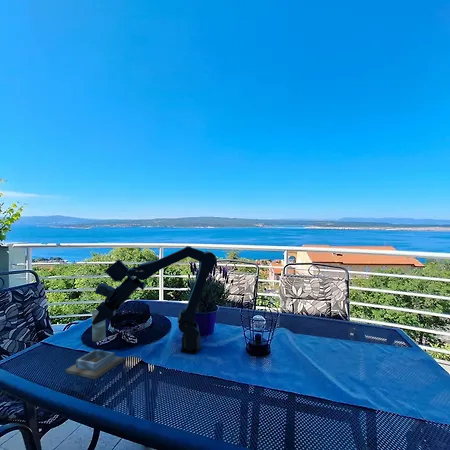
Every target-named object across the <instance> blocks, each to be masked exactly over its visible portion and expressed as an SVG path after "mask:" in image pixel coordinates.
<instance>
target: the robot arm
mask: <svg viewBox="0 0 450 450" xmlns="http://www.w3.org/2000/svg"><path fill="white" fill-rule="evenodd" d="M187 258H191V259H193V260H195V261H197V262H199V266H198V273H197V275H196V279H195V280H194V281H195V282H194V284H193V288H192V290H191V292H190V294H189V295H190V296H189V298H188V300H187V301H188V302H187V305H186V306H185V307H184V308H183V307H181V308H180V311H179V314H178V316H177V323H178V325H177V326H178V329H179V331H180V333H182V334H181V335H182V337H181V341H180V342H181V343H180V344H181V349H180V352H181V353H185V354H187V353H188V354H192V355H196V354H198V352H199V351H200V350H201V349H202V348H203V346H202V345H201V333H200V328H199V324H198V323H197V322H196V320H195V319H196V313H197V308H198V305H199V302H200V300H201V298H202V297H201V296H202V294H203V291H204V288H205V285H206V283H207V279H208V277H209V275H210V273H211V272H212V271H213V270H214V267H215V266H216V263H217V257H216V255H215V254H214V253H213V252H212V251H210V250H209V251H206V250H205V251H202V250H199V249H197V248H194V247H192V246H190V245H187V246H185V247H183V248H181V249H179V250H177V251H175V252H172V253H170V254H168V255H166V256H164V257H161V258H158V259H156V260H151V261H150V260H149V261H146V262H143V263H141V264H138V266H134V267H130V268H129V267H128V266H127V265H125V263H123V261H122V260H121V259H117V260H116V261H115V262H114V263H112V265H111V264H110V265H109V267H107V268H106V269H105V271H104V273H105V274H106V275H107V276H109V277H110V279H112V280H113V281H114V283H117V282H120V284H119V286H116V287H113V286H111V285H109V284H106V283H103V282H100V283H99V284H98V285H97V287H95V292H94V294H96V295H100V296H102V297H105V299H104V300H103V301H101V302H100V303H99V304H98V305H97V306H96V308H95V310H98V311H99V312H98V314H97V315H96V317H95V318H94V320H93V322H92V321H91V325H92V324H93V325H95V324H97V323H99V322H101V321H104V320H105V321H106V320H108V321H110V320H111V319H112V318H113V317H114V316H115V314H116V312H117V310H119V308H121V306H122V305H124V303H125V302H126V301H128V299H129V298H130V297H131V296H132V295H133V294H134V293H135V292H136V291H137V290H138V289H141V290H142V291H144V289H145V288H146V286H145V283H146V281H145V280H147V279H148V280H149V278H151V277H152V276H154V275H155V274H156V273H157V272H159V271H160V270H162V269H164V268H167V267H169V266H171V265H174V264H175V263H178V262H180V261H182V260H184V259H187ZM122 281H123V282H122Z"/></svg>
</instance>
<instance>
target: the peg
mask: <svg viewBox="0 0 450 450" xmlns="http://www.w3.org/2000/svg"><path fill="white" fill-rule="evenodd" d="M98 312H99V311H98V310H96V309H94V310H92V311H91V334H92V336H91V338H92V340H91V341H92V342H95V343H97V342H102V341H104V340H106V339H107V337H106V336H107V334H106V332H107V331H106V329H107V327H106V320H104V321H101V322H99V323H97V324H95V325H93V324H92V322H93V320H94V318H95V317H96V315H97V314H98Z"/></svg>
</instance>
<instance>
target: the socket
mask: <svg viewBox="0 0 450 450" xmlns="http://www.w3.org/2000/svg"><path fill="white" fill-rule="evenodd" d="M124 359H125V358H124V357H122V356H117V355H115V352H113V351H107V350H102V349H94V350H92V351H90V352H88V353H86V354H85V355H83V356H80V357H79V358H77V359H75V364H72V365H71V366H69V367H68V368H66V369H65V373H66V374H70V375H74V376H77V377H82V378H88V379H91V380H94V381H95V380H97V379H98V378H100V377H102V376H103V375H105V374H106V373H107V372H109V371H110V370H112V369H113V368H116V366H118V365H119V364H120V363H123V362H124V361H125V360H124Z"/></svg>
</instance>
